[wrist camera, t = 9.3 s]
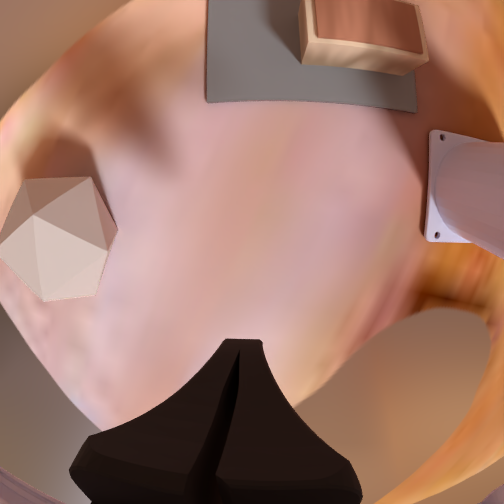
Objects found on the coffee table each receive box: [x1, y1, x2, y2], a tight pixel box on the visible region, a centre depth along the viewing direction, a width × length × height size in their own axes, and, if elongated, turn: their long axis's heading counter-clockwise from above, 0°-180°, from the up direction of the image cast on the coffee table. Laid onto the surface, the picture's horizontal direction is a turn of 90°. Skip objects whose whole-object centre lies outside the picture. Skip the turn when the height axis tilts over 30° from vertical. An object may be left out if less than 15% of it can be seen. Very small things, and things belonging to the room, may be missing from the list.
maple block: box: [298, 0, 429, 76], centre depth 13 cm, size 4×4×7 cm
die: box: [0, 177, 118, 302], centre depth 17 cm, size 8×9×10 cm
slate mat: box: [207, 0, 417, 113], centre depth 16 cm, size 14×9×1 cm, turn 91°
